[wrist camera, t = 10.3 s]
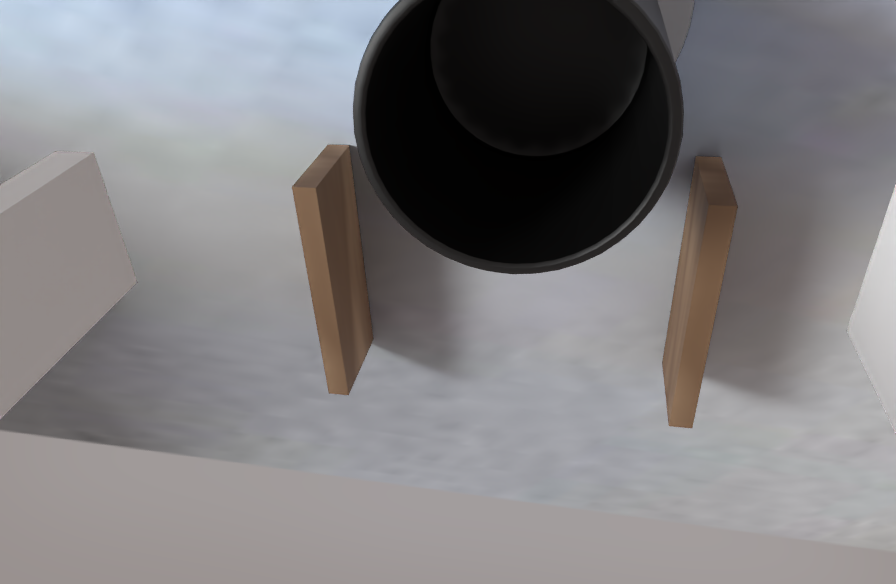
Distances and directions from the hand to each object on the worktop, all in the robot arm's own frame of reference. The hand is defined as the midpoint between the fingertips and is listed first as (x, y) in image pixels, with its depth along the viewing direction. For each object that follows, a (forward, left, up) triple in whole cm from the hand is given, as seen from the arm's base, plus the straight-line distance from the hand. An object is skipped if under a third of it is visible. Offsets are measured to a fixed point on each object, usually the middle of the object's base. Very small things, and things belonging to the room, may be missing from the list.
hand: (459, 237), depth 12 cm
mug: (0, 0, -18) cm, 18 cm away
